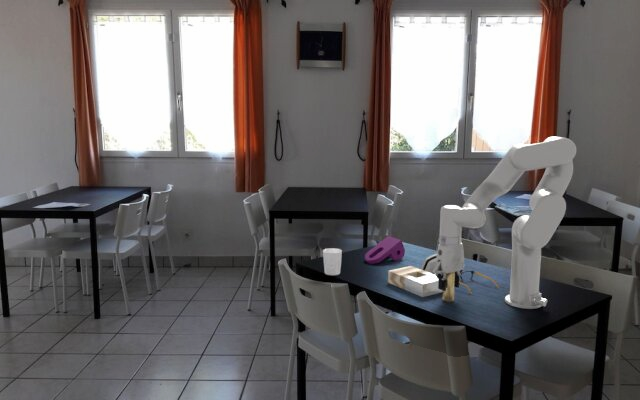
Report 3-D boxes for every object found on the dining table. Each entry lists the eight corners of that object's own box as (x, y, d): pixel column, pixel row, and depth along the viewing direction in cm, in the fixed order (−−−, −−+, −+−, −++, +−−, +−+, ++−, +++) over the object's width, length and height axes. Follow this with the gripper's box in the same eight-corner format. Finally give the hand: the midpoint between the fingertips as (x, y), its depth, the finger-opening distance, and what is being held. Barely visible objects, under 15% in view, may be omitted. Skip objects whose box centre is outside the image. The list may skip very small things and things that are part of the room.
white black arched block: (445, 267, 229) (451, 248, 225) (452, 273, 226) (459, 254, 221) (416, 273, 220) (422, 254, 216) (423, 280, 217) (429, 260, 213)
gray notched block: (446, 291, 199) (446, 278, 198) (422, 297, 193) (423, 284, 192) (427, 284, 207) (428, 271, 206) (404, 289, 201) (404, 277, 200)
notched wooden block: (427, 284, 207) (428, 271, 206) (404, 289, 201) (404, 277, 200) (410, 277, 216) (411, 265, 215) (388, 282, 209) (388, 270, 209)
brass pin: (456, 300, 189) (457, 268, 187) (448, 302, 187) (449, 270, 185) (448, 297, 193) (449, 265, 191) (440, 299, 191) (441, 267, 189)
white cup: (344, 274, 220) (344, 251, 218) (327, 277, 217) (327, 253, 216) (337, 269, 227) (337, 247, 226) (320, 271, 225) (320, 249, 223)
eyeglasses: (471, 279, 214) (471, 269, 214) (498, 289, 202) (499, 279, 201) (445, 284, 208) (445, 275, 207) (472, 295, 195) (472, 285, 194)
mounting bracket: (379, 277, 236) (406, 254, 243) (373, 262, 233) (401, 240, 240) (366, 271, 244) (393, 250, 251) (360, 257, 240) (387, 236, 248)
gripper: (440, 245, 179) (438, 295, 182) (475, 238, 187) (473, 286, 190) (425, 241, 185) (423, 289, 188) (459, 234, 194) (457, 281, 197)
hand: (448, 287), depth 189 cm, fingers open, 5 cm apart
